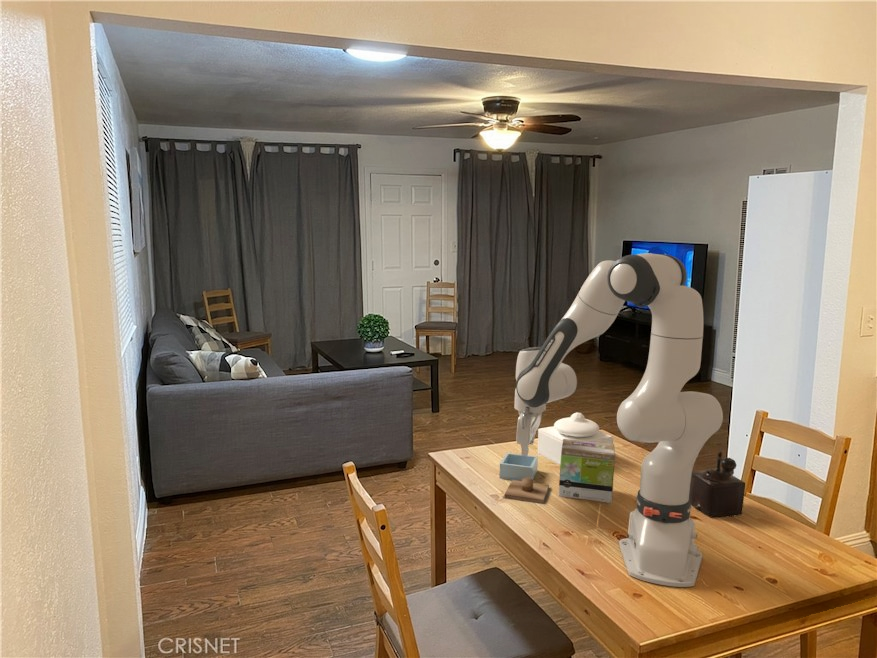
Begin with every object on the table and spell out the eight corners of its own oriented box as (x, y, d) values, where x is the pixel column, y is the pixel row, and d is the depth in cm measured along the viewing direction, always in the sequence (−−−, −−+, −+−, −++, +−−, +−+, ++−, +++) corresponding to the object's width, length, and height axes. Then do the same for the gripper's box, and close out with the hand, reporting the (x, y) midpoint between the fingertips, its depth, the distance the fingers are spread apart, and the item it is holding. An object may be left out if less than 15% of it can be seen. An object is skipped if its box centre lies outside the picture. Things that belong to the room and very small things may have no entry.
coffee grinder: (684, 502, 178) (689, 441, 175) (717, 498, 181) (723, 438, 178) (720, 527, 163) (726, 461, 161) (757, 523, 166) (763, 458, 163)
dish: (531, 483, 190) (532, 467, 189) (499, 479, 193) (499, 463, 192) (537, 471, 199) (537, 456, 199) (506, 467, 202) (506, 452, 202)
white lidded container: (571, 471, 200) (573, 423, 198) (536, 453, 216) (538, 408, 213) (612, 462, 209) (614, 416, 206) (576, 445, 224) (578, 402, 222)
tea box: (558, 498, 180) (560, 448, 178) (559, 484, 190) (562, 437, 187) (612, 504, 177) (615, 453, 174) (611, 490, 186) (614, 442, 184)
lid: (543, 503, 176) (543, 489, 175) (504, 497, 179) (504, 484, 178) (548, 488, 186) (549, 475, 185) (512, 482, 189) (512, 470, 189)
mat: (544, 505, 175) (544, 504, 175) (502, 499, 179) (502, 498, 179) (550, 488, 186) (550, 487, 186) (510, 483, 190) (510, 482, 190)
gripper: (535, 414, 167) (532, 463, 170) (546, 394, 187) (544, 439, 189) (511, 412, 169) (509, 460, 172) (525, 392, 189) (523, 436, 191)
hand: (528, 449), depth 181 cm, fingers open, 8 cm apart
